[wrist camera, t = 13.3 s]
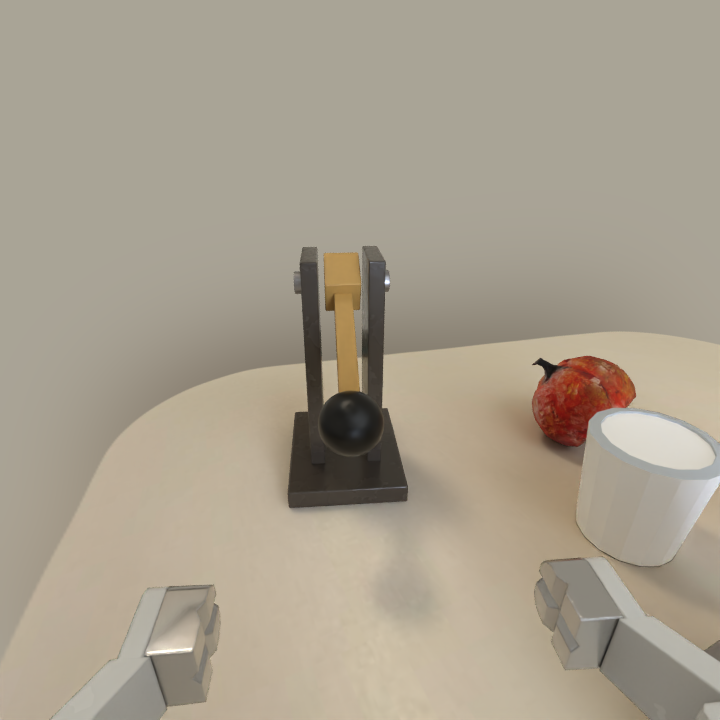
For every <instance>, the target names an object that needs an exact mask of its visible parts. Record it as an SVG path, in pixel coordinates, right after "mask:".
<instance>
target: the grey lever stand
mask: <svg viewBox="0 0 720 720" xmlns="http://www.w3.org/2000/svg"><path fill="white" fill-rule="evenodd" d="M362 252H363V253H362V393H365V394H367V395H368V396H370V397H371V398H372V399H374V400H375V401H376V403H377V404H378V405H379V407H380V409H381V411H382V414H383V418H384V430H383V434H382V437H381V439H380V441H379V442H378V444H377V445H376V446H375V447H374V448H373V449H372V450H371V451H370V452H368V453H366V454H364V455H362V456H358V457H344V456H340V455H338V454H336V453H334V452H332V451H331V450H330V449H329V448H328V447H327V446H326V445H325V444H324V442H323V441H322V439H321V437H320V434H319V430H318V418H319V414H320V411H321V409H322V407H323V406H324V401H323V376H322V352H321V326H320V303H319V302H320V301H319V277H318V254H317V253H318V252H317V247H303V248H302V253H301V260H300V272H294V290H295V294H301V295H302V312H303V330H304V346H305V364H306V382H307V399H308V412H295V419H294V430H293V441H292V452H291V463H290V474H289V485H288V502H289V508H294V507H312V506H329V505H346V504H363V503H380V502H397V501H407V493H408V485H407V481H406V477H405V474H404V470H403V466H402V462H401V458H400V454H399V451H398V447H397V443H396V439H395V435H394V431H393V427H392V424H391V420H390V416H389V412H388V409H387V408H382V388H383V349H384V348H383V347H384V310H385V309H384V307H385V292H388V291H389V287H390V276H389V271H388V270H386V262H385V260H384V258H383V256H382V255H381V253H380V251H379V249H378V247H377V246H363V248H362Z"/></svg>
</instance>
